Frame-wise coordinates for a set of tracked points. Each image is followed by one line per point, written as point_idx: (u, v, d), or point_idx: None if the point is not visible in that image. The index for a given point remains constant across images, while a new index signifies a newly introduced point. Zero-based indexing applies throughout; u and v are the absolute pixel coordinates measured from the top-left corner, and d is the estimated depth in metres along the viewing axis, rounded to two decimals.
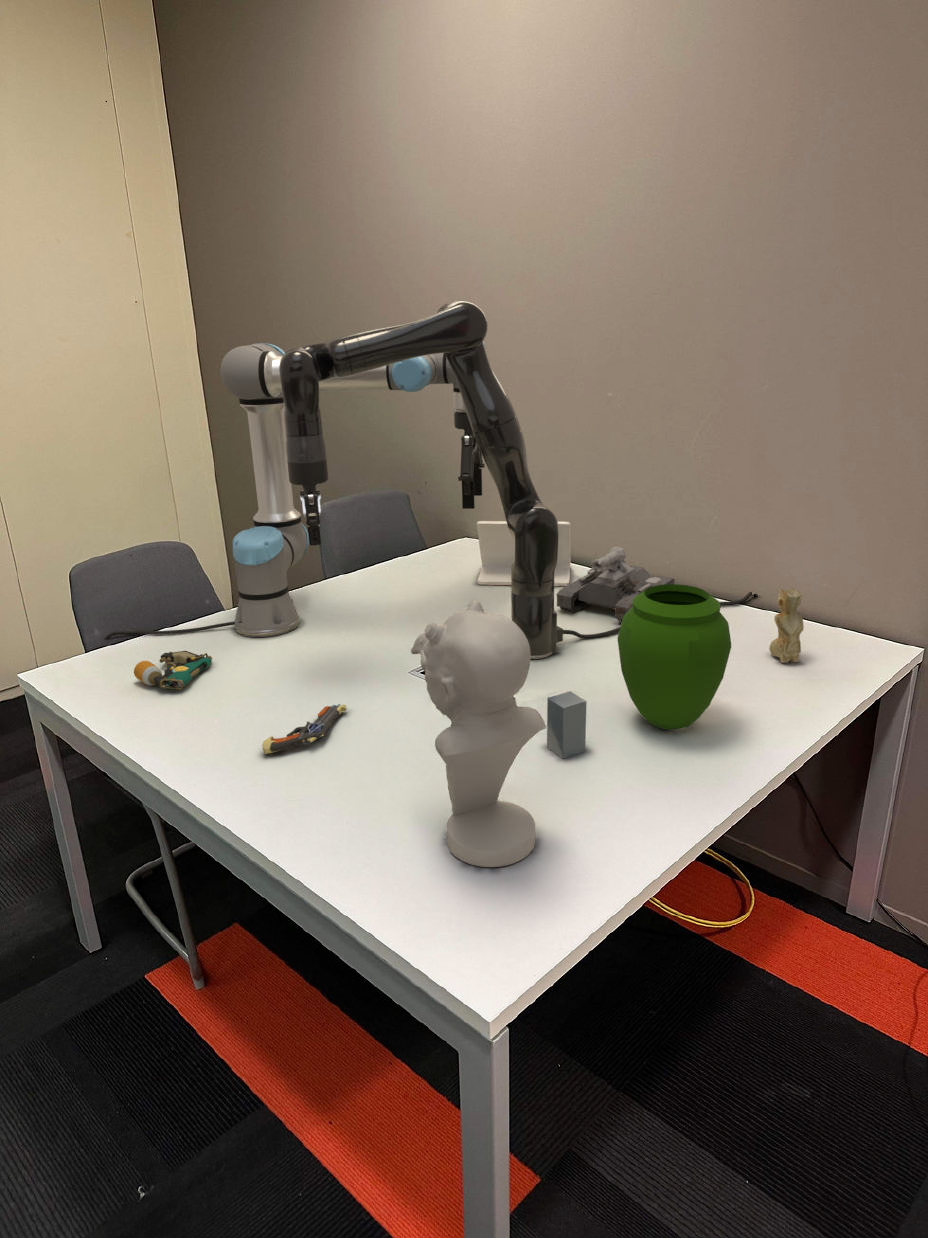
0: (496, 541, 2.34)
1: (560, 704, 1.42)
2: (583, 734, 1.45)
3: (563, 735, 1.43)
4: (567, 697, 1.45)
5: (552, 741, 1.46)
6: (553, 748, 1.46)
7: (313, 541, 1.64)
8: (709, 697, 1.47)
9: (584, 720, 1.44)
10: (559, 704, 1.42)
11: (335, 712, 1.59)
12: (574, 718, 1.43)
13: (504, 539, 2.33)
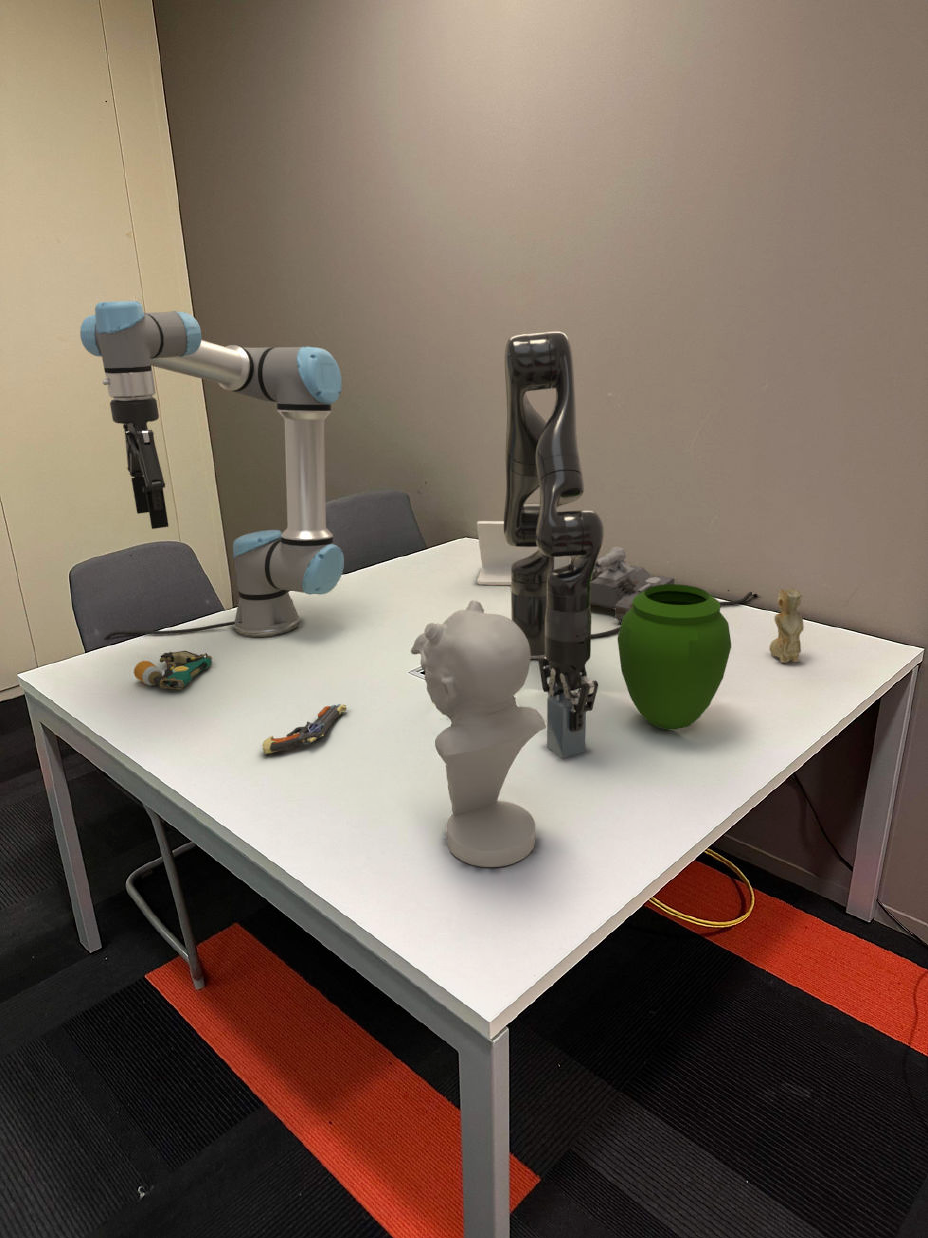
0: (496, 541, 2.34)
1: (559, 704, 1.42)
2: (583, 734, 1.45)
3: (563, 735, 1.43)
4: None
5: (552, 741, 1.46)
6: (553, 748, 1.46)
7: None
8: (709, 697, 1.47)
9: (584, 720, 1.44)
10: (559, 704, 1.42)
11: (335, 712, 1.59)
12: None
13: (504, 539, 2.33)
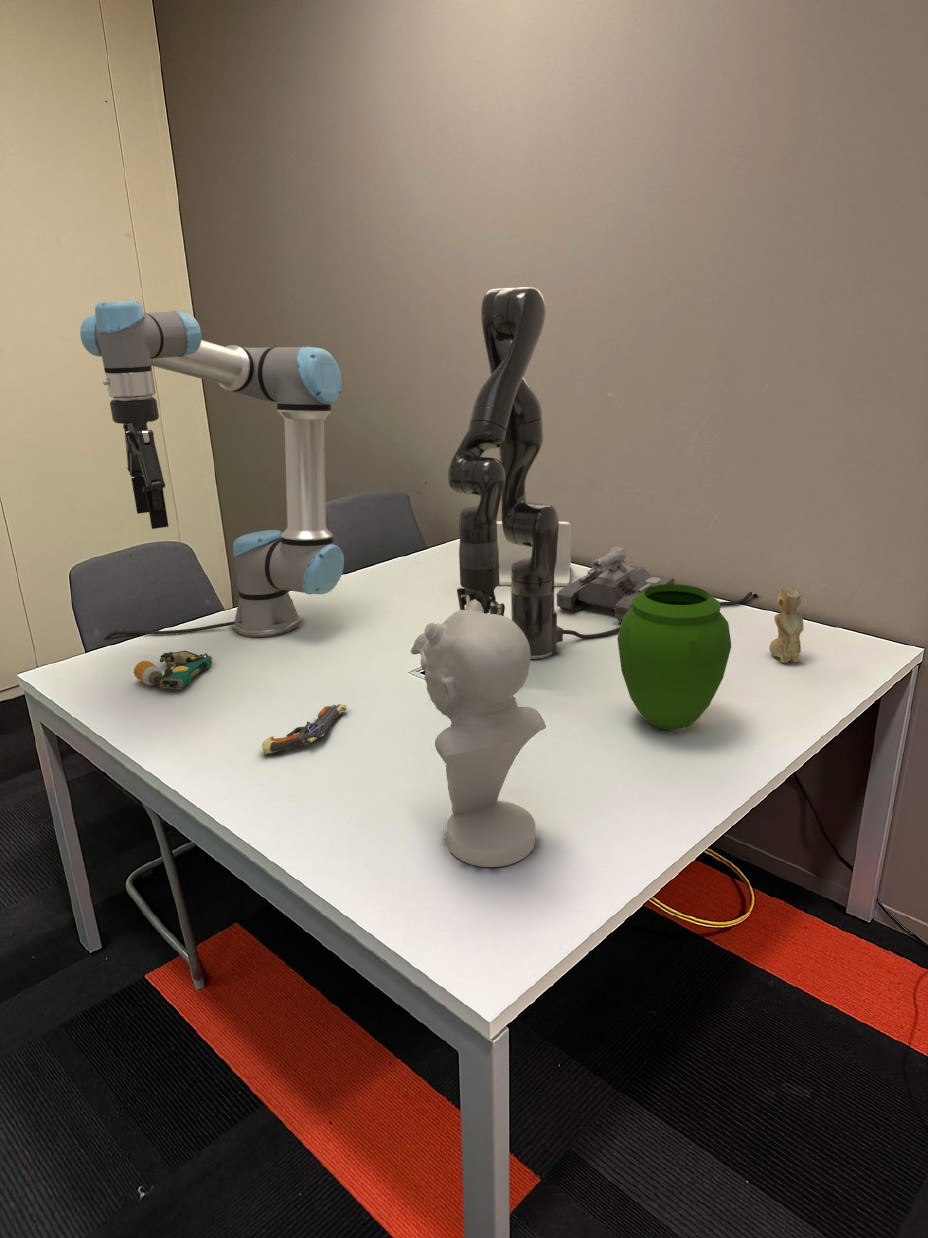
0: None
1: None
2: None
3: None
4: None
5: None
6: None
7: None
8: (709, 697, 1.47)
9: None
10: None
11: (335, 712, 1.59)
12: None
13: (504, 539, 2.33)
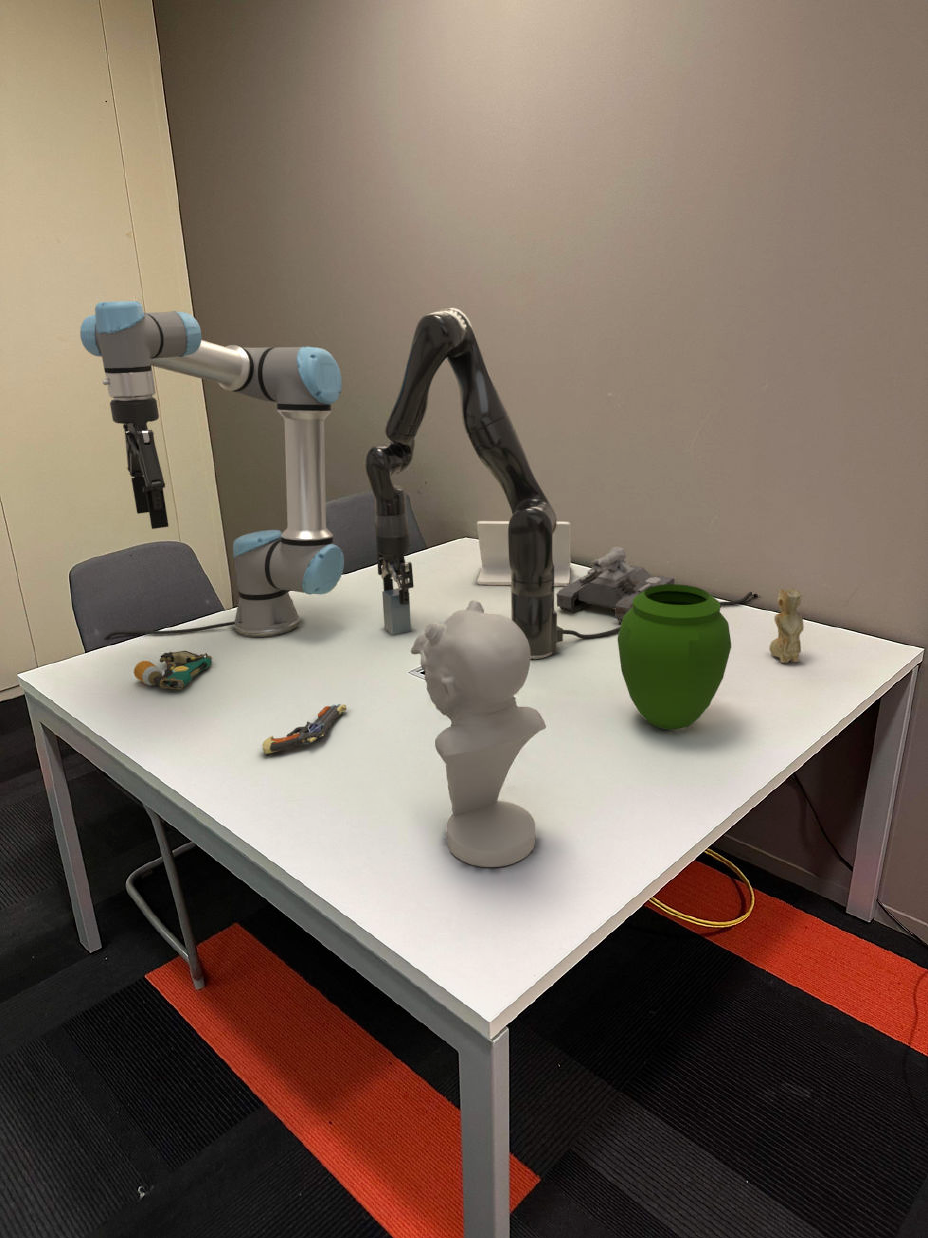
0: (496, 541, 2.34)
1: (389, 595, 1.97)
2: (408, 617, 2.00)
3: (392, 617, 1.98)
4: (396, 590, 2.00)
5: (386, 623, 2.01)
6: (387, 628, 2.01)
7: None
8: (709, 697, 1.47)
9: (408, 607, 1.99)
10: (389, 594, 1.97)
11: (335, 712, 1.59)
12: (399, 605, 1.98)
13: (504, 539, 2.33)
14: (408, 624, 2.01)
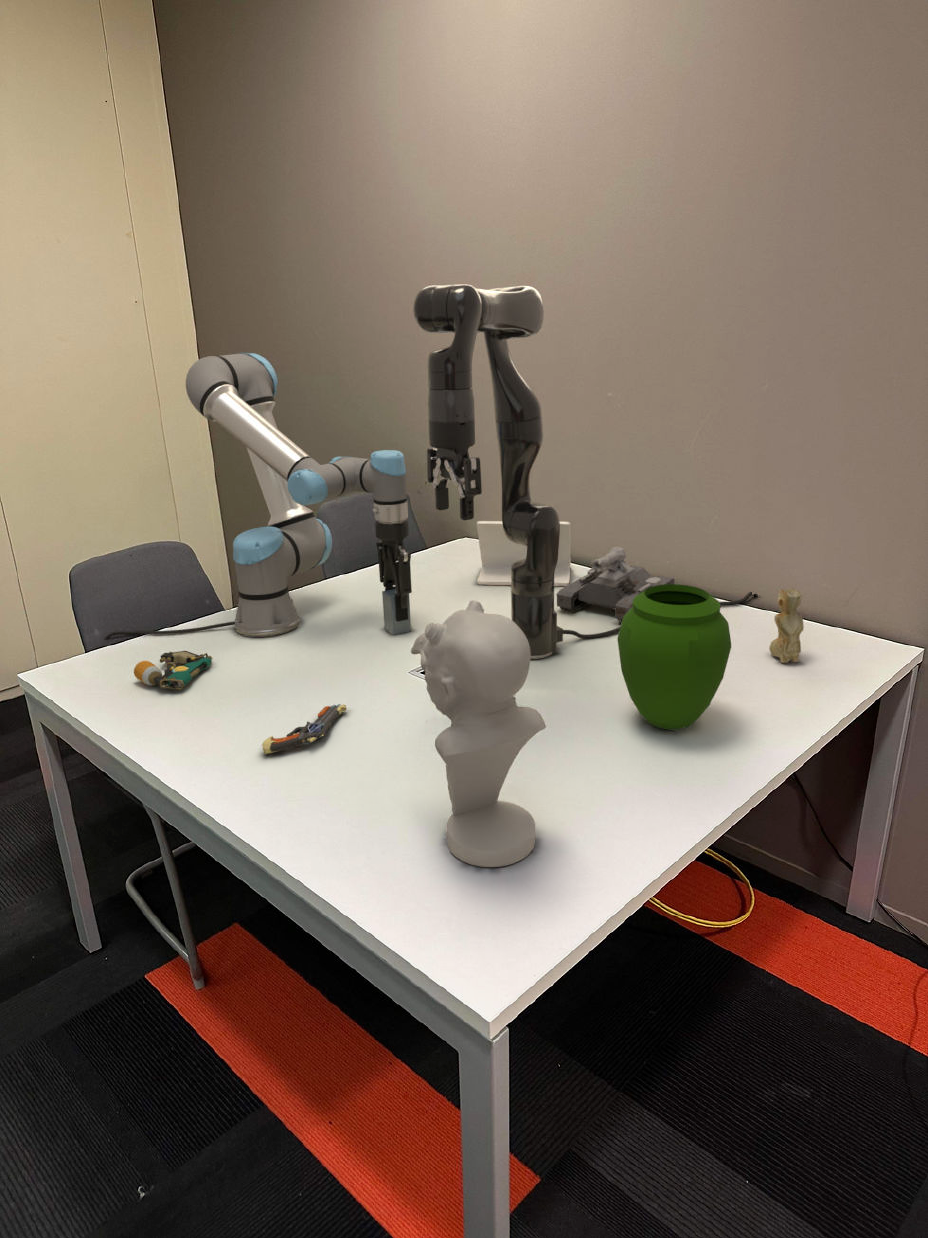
0: (496, 541, 2.34)
1: (389, 594, 1.97)
2: (408, 617, 2.00)
3: (392, 617, 1.98)
4: None
5: (386, 623, 2.01)
6: (387, 628, 2.01)
7: None
8: (709, 697, 1.47)
9: (408, 607, 1.99)
10: (388, 594, 1.97)
11: (335, 712, 1.59)
12: None
13: (504, 539, 2.33)
14: (408, 624, 2.01)
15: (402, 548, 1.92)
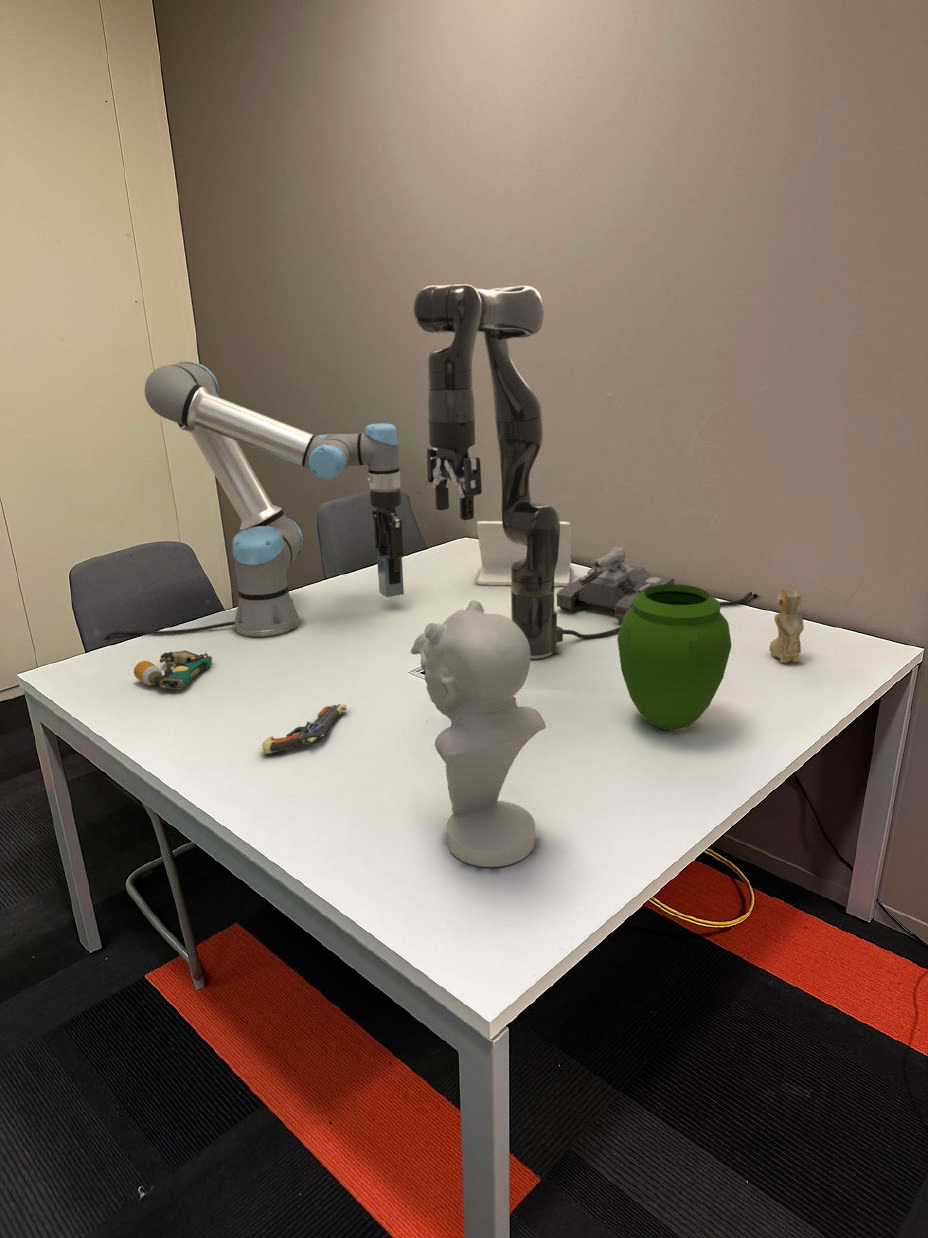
0: (496, 541, 2.34)
1: (382, 559, 2.11)
2: (401, 581, 2.14)
3: (385, 580, 2.12)
4: None
5: (381, 587, 2.15)
6: (382, 591, 2.15)
7: None
8: (709, 697, 1.47)
9: (401, 571, 2.13)
10: (382, 559, 2.11)
11: (335, 712, 1.59)
12: None
13: (504, 539, 2.33)
14: (401, 587, 2.15)
15: (394, 515, 2.06)
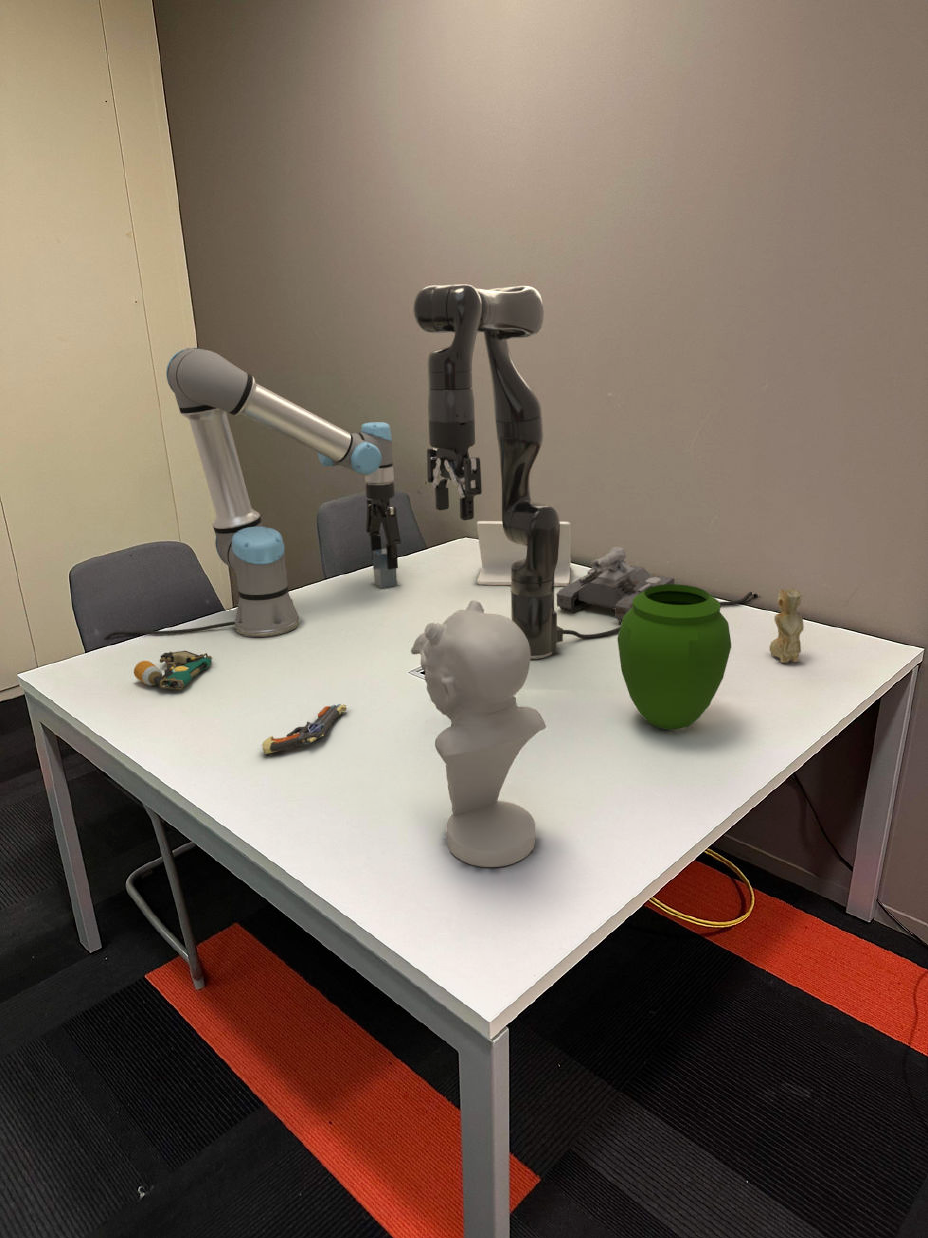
0: (496, 541, 2.34)
1: (377, 553, 2.30)
2: (394, 573, 2.33)
3: (380, 572, 2.30)
4: (384, 550, 2.32)
5: (376, 579, 2.34)
6: (377, 583, 2.34)
7: None
8: (709, 697, 1.47)
9: None
10: (377, 553, 2.30)
11: (335, 712, 1.59)
12: None
13: (504, 539, 2.33)
14: (394, 579, 2.33)
15: None
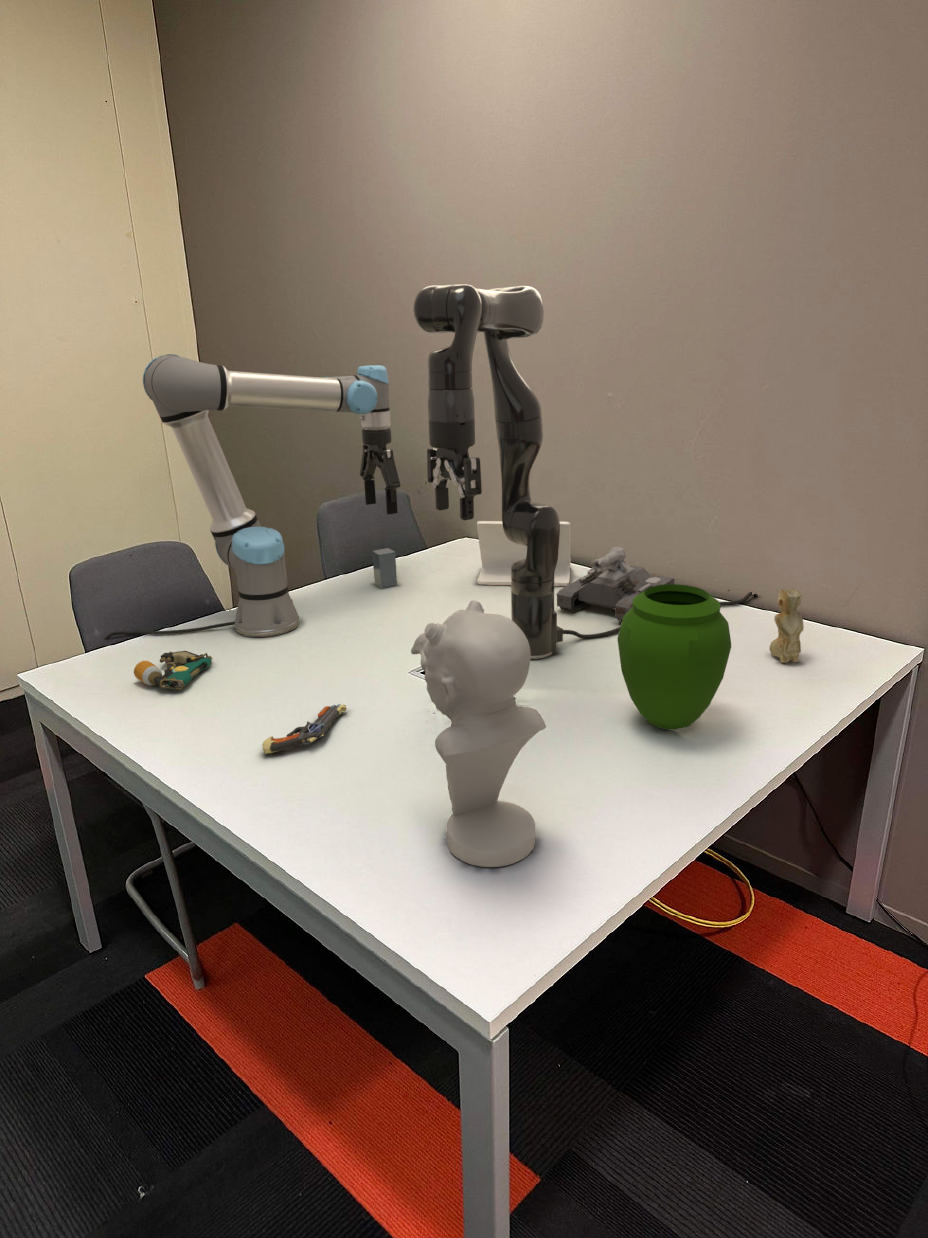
0: (496, 541, 2.34)
1: (377, 553, 2.30)
2: (394, 573, 2.33)
3: (380, 572, 2.30)
4: (384, 550, 2.32)
5: (376, 579, 2.34)
6: (377, 583, 2.34)
7: None
8: (709, 697, 1.47)
9: (394, 564, 2.32)
10: (377, 553, 2.30)
11: (335, 712, 1.59)
12: (387, 562, 2.30)
13: (504, 539, 2.33)
14: (394, 579, 2.33)
15: None
